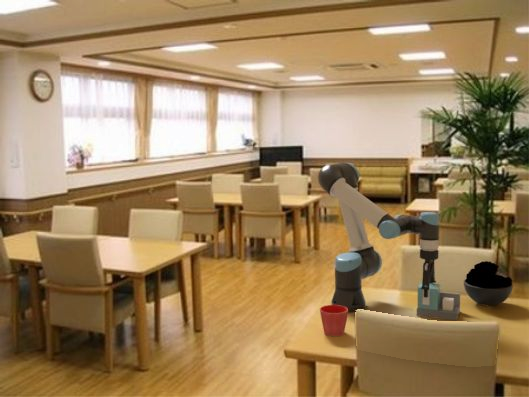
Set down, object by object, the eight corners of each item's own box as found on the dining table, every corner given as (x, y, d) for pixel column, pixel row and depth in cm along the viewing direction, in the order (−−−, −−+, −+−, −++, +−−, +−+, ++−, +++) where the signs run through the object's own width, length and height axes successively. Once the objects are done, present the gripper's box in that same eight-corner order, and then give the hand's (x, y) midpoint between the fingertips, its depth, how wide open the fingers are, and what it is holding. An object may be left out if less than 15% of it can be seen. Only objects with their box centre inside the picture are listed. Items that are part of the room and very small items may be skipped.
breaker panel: (416, 315, 229) (416, 297, 228) (421, 307, 239) (421, 289, 238) (456, 320, 222) (457, 301, 221) (459, 311, 232) (460, 293, 231)
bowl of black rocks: (503, 297, 249) (504, 257, 246) (519, 312, 229) (520, 269, 227) (458, 297, 251) (458, 257, 248) (470, 312, 231) (471, 269, 229)
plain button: (442, 311, 227) (442, 300, 226) (443, 308, 231) (444, 297, 230) (452, 312, 225) (452, 301, 225) (453, 309, 229) (453, 298, 228)
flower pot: (329, 325, 220) (329, 302, 219) (353, 331, 213) (353, 307, 212) (314, 333, 212) (314, 309, 211) (339, 340, 205) (338, 315, 204)
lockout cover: (417, 308, 229) (417, 287, 228) (420, 302, 236) (421, 282, 235) (437, 310, 226) (437, 289, 225) (440, 304, 233) (440, 284, 232)
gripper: (434, 255, 216) (433, 309, 219) (442, 244, 236) (441, 295, 238) (414, 253, 219) (413, 307, 222) (424, 243, 239) (423, 293, 242)
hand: (428, 301), depth 230 cm, fingers open, 10 cm apart
